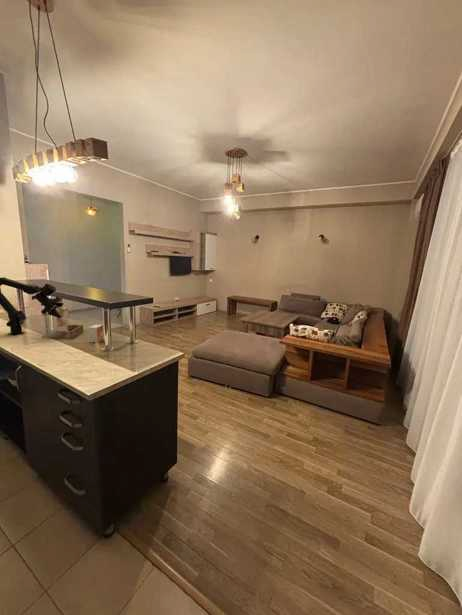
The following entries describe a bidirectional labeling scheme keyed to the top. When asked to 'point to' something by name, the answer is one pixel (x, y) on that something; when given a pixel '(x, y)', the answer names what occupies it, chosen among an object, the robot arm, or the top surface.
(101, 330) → the small box
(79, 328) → the walnut crate
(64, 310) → the ash block
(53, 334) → the slate mat
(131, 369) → the top surface
